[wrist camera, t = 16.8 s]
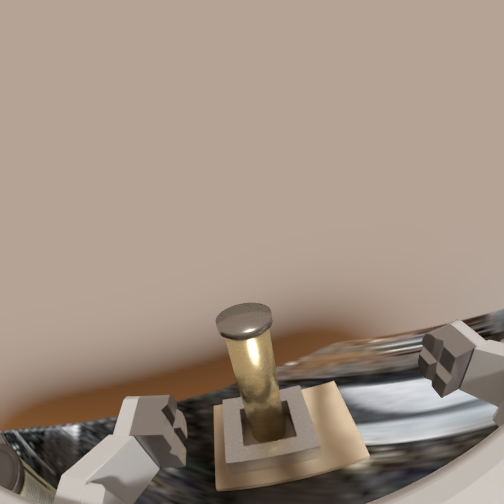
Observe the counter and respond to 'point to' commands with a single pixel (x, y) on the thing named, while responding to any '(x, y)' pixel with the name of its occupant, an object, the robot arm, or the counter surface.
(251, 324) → the brass peg
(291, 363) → the counter surface
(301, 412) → the jig
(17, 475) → the coffee can
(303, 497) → the counter surface
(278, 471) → the jig plate
